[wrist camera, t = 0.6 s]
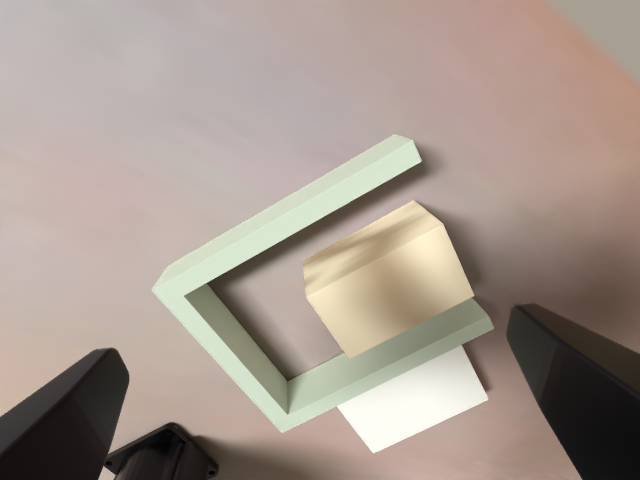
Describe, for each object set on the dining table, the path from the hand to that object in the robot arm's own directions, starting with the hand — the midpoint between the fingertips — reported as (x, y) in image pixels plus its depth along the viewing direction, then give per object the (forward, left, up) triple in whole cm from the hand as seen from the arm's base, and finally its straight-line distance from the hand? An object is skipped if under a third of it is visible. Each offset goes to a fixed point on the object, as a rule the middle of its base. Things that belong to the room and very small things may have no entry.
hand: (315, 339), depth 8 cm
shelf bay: (-1, -7, -14) cm, 15 cm away
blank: (+2, -7, -14) cm, 16 cm away
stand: (-1, -18, -14) cm, 22 cm away
